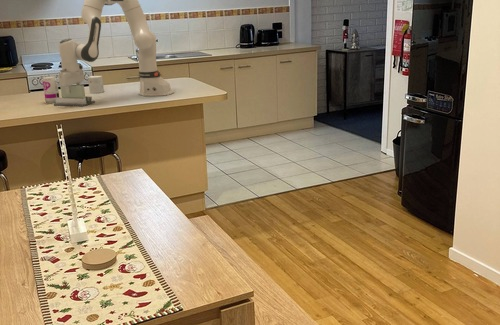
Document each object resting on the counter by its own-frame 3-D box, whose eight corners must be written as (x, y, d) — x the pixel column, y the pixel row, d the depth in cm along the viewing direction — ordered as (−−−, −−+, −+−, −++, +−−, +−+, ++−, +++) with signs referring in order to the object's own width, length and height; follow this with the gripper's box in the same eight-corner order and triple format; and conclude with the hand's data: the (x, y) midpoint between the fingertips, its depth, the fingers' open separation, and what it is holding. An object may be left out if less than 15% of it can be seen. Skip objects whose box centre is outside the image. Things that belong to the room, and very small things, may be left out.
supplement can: (51, 103, 322) (48, 78, 317) (43, 102, 326) (39, 78, 321) (62, 101, 328) (59, 76, 324) (54, 100, 332) (50, 76, 328)
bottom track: (94, 102, 321) (94, 95, 320) (83, 106, 310) (82, 99, 309) (66, 101, 327) (65, 95, 325) (53, 105, 316) (52, 98, 314)
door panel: (86, 102, 317) (83, 85, 314) (83, 103, 315) (80, 86, 312) (65, 101, 321) (63, 84, 318) (62, 102, 319) (60, 85, 316)
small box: (104, 91, 356) (102, 75, 353) (101, 93, 351) (99, 77, 348) (92, 91, 357) (90, 75, 354) (89, 93, 352) (87, 77, 349)
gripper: (63, 70, 301) (67, 94, 305) (84, 65, 320) (87, 88, 324) (54, 70, 303) (58, 94, 307) (75, 65, 322) (78, 88, 326)
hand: (73, 91), depth 316 cm, fingers open, 8 cm apart
